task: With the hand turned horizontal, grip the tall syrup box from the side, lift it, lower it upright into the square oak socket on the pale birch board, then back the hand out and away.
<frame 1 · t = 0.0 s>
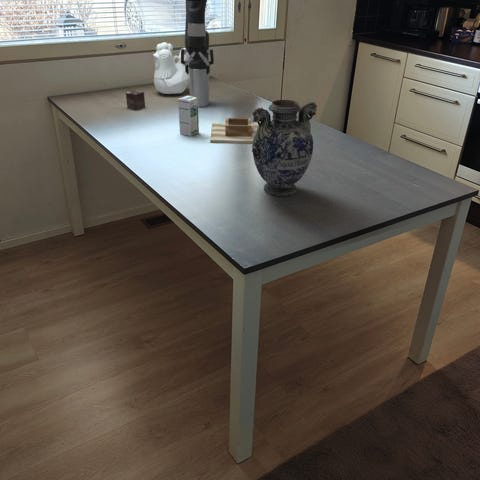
hand: (197, 74, 232), 17 cm above the table, tool pointing down, fingers open, 8 cm apart
box: (136, 108, 245), on the table
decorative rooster: (178, 93, 270), on the table
decorative vase: (280, 189, 170), on the table
socket board: (238, 133, 216), on the table
syrup box: (189, 133, 216), on the table
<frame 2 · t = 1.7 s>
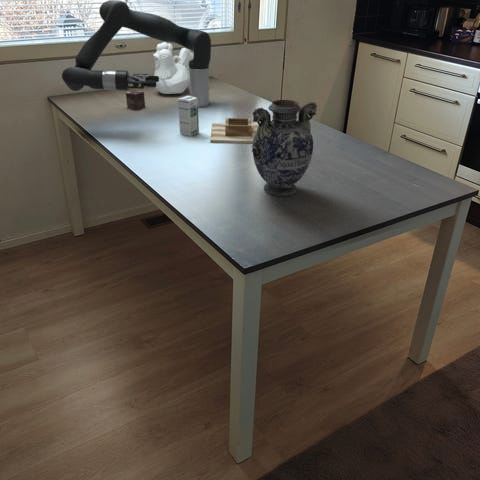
hand: (157, 81, 207), 20 cm above the table, tool horizontal, fingers open, 8 cm apart
nothing on the table moved.
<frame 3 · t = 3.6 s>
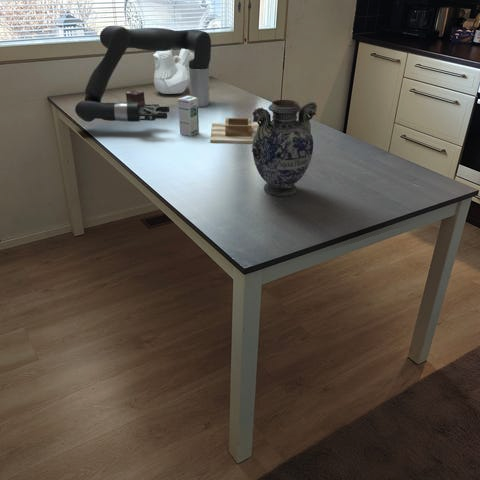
hand: (168, 112, 211), 8 cm above the table, tool horizontal, fingers open, 8 cm apart
nothing on the table moved.
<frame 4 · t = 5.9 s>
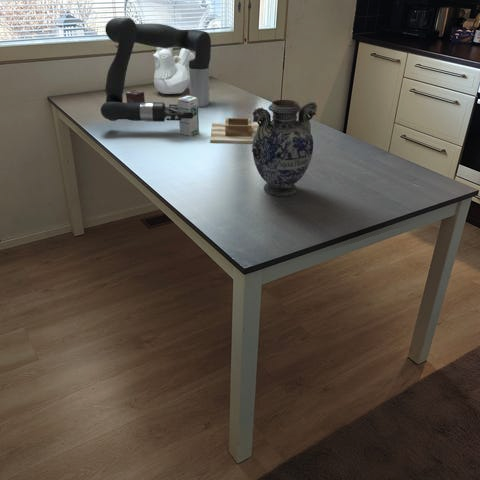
hand: (193, 112, 211), 9 cm above the table, tool horizontal, fingers closed on syrup box, 7 cm apart
syrup box: (189, 133, 216), on the table, touching gripper
everything else where it was.
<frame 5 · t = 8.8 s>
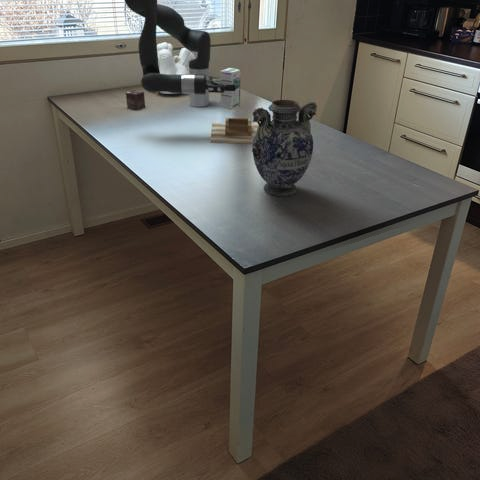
hand: (235, 85, 206), 20 cm above the table, tool horizontal, fingers closed on syrup box, 7 cm apart
syrup box: (230, 107, 210), point 11 cm above the table, touching gripper
everything else where it was.
when the fingers open (11 cm above the table, at t = 12.0 s): syrup box drops 1 cm, resting on socket board.
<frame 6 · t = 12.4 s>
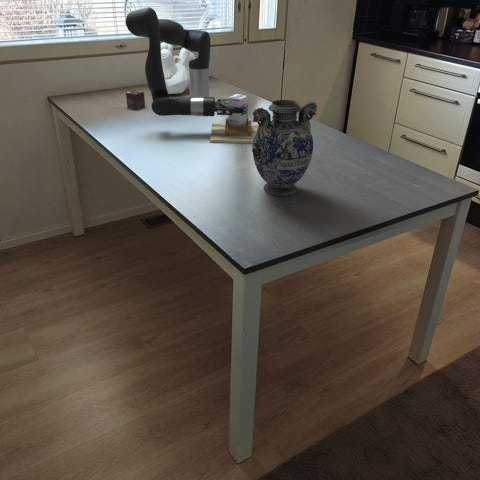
hand: (243, 107, 211), 11 cm above the table, tool horizontal, fingers open, 8 cm apart
syrup box: (237, 132, 216), point 1 cm above the table, touching socket board
everything else where it was.
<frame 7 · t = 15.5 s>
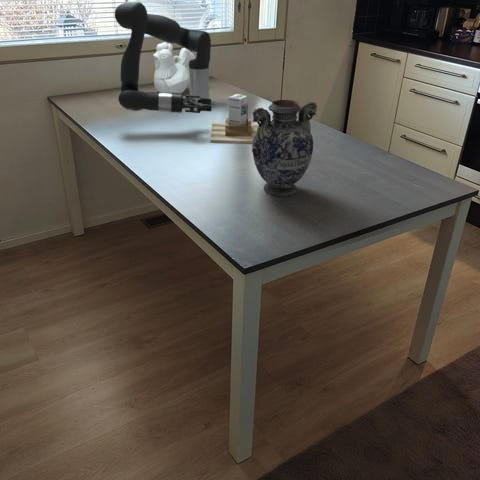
hand: (211, 105, 211), 11 cm above the table, tool horizontal, fingers open, 8 cm apart
nothing on the table moved.
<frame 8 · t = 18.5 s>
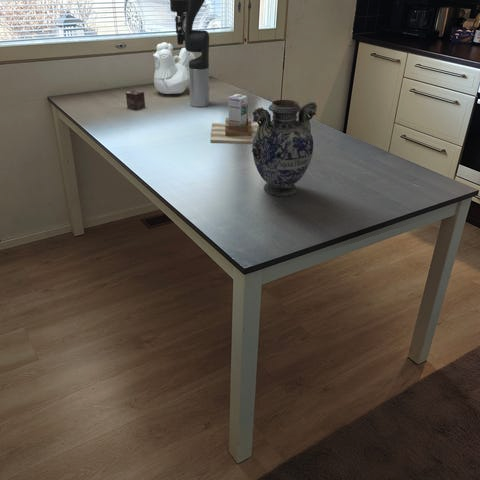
hand: (181, 42, 209), 33 cm above the table, tool pointing down, fingers open, 8 cm apart
nothing on the table moved.
at the end: syrup box 0.1 cm off-centre on the socket board, point 0.8 cm above the socket board's base; syrup box tilted 0°; the gripper is holding nothing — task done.
